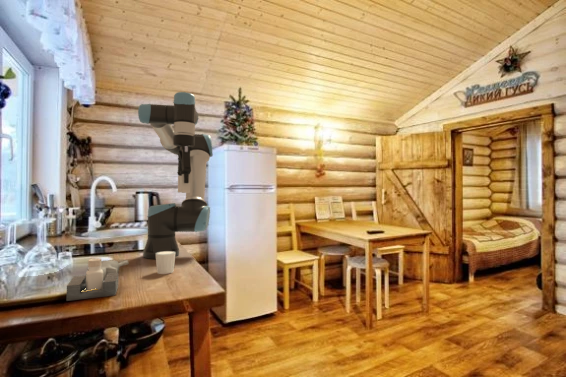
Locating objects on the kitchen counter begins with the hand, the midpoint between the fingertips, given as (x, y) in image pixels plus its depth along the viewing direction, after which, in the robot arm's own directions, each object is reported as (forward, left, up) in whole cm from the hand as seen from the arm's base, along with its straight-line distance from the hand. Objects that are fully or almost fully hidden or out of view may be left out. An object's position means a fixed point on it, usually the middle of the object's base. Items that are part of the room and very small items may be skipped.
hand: (183, 192), depth 113 cm
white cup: (0, -6, -29) cm, 30 cm away
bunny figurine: (-2, -25, -29) cm, 38 cm away
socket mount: (+16, -26, -29) cm, 42 cm away
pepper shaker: (+16, -26, -29) cm, 42 cm away
